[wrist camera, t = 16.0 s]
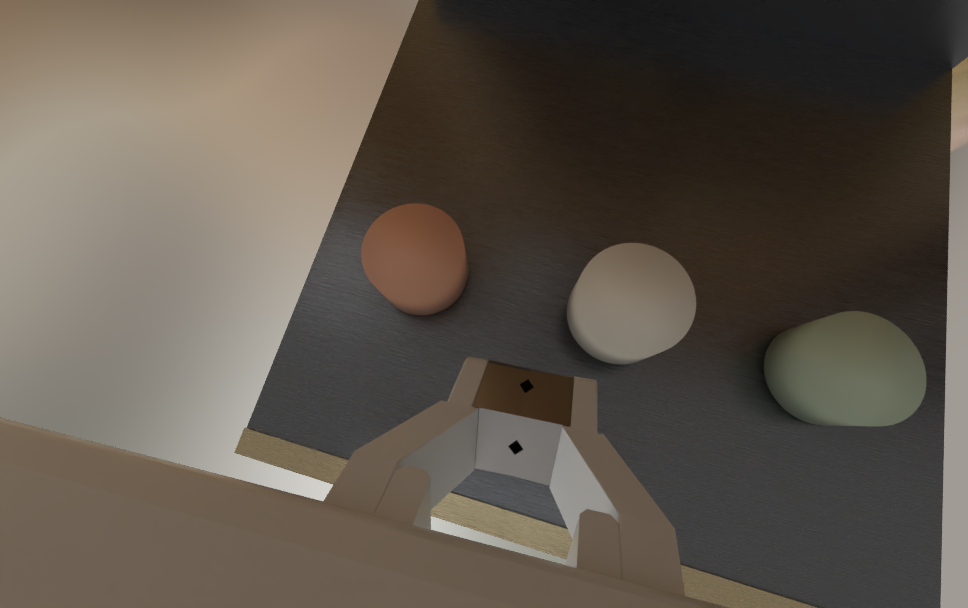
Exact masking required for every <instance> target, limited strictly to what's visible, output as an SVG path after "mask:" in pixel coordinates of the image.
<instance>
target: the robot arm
mask: <svg viewBox="0 0 968 608" xmlns="http://www.w3.org/2000/svg"><path fill="white" fill-rule="evenodd" d="M474 468H476V469H481V470H486V471H491V472H496V473H500V474H505V475H510V476H514V477H518V478H522V479H526V480H530V481H533V482H537V483H541V484H545V485H549V486H550V487H549V488H550V490H551V492H552V495H553V497H554V499H555V501H556V504H557V506H558V508H559V510H560V513H561V515H562V517H563V519H564V521H565V524H566V526H567V528H568V530H569V533H570V535H571V537H572V542H571V546H570V549H569V552H568V556H567V559H566V563H565V565H563V564H559V563H556V562H552V561H548V560H544V559H540V558H537V557H533V556H528V555H525V554H521V553H518V552H514V551H510V550H506V549H502V548H499V547H495V546H491V545H487V544H483V543H479V542H475V541H471V540H468V539H464V538H460V537H456V536H453V535H449V534H445V533H441V532H437V531H434V530H431V509H433V508H434V507H435V506H436V505H437V504H438V503H439V502H440V501H441V500H442V499H443V498H445V497H446V496H447V495H448V494H449V493H450V492H451V491H452V490H453V489H454V488H455V487H457V486H458V485H459V484H460V483H461V482H462V481H463V480H464V479H465V478H466V477H467V476H469V475H470V474H471V473H472V472H473V471H474ZM0 608H728V607H725V606H721V605H717V604H713V603H709V602H706V601H702V600H698V599H694V598H690V597H686V596H685V590H684V584H683V578H682V571H681V565H680V559H679V552H678V546H677V539H676V533H675V528H674V527H673V525H672V524H671V523H670V521H669V520H668V519H667V517H666V516H665V515H664V514H663V512H662V511H661V510H660V508H659V507H658V506H657V504H656V503H655V502H654V500H653V499H652V498H651V496H650V495H649V494H648V492H647V491H646V490H645V488H644V487H643V486H642V484H641V483H640V482H639V480H638V479H637V478H636V476H635V475H634V474H633V472H632V471H631V470H630V468H629V467H628V466H627V464H626V463H625V462H624V460H623V459H622V458H621V457H620V455H619V454H618V453H617V451H616V450H615V449H614V447H613V446H612V445H611V443H610V442H609V441H608V439H607V438H606V437H605V435H603V434H598V433H597V382H596V380H592V379H586V378H580V377H571V376H566V375H560V374H555V373H549V372H544V371H539V370H533V369H529V368H525V367H520V366H515V365H511V364H506V363H501V362H497V361H492V360H486V359H481V358H476V357H472V356H468V357H467V358H466V359H465V362H464V364H463V366H462V369H461V371H460V373H459V376H458V378H457V380H456V382H455V385H454V387H453V389H452V392H451V394H450V396H449V399H448V401H447V402H446V401H439V402H438V403H436V404H434V405H433V406H431V407H429V408H427V409H426V410H424V411H422V412H421V413H419V414H417V415H415V416H414V417H412V418H410V419H409V420H407V421H405V422H403V423H402V424H400V425H398V426H397V427H395V428H393V429H391V430H390V431H388V432H386V433H385V434H383V435H381V436H379V437H378V438H376V439H374V440H373V441H371V442H369V443H367V444H366V445H364V446H362V447H361V448H359V449H357V450H355V451H354V452H353V454H352V456H351V457H350V459H349V460H348V462H347V464H346V465H345V467H344V469H343V470H342V472H341V474H340V475H339V477H338V478H337V480H336V482H335V483H334V485H333V487H332V488H331V490H330V491H329V493H328V495H327V497H326V498H325V500H324V501H319V500H315V499H311V498H307V497H304V496H299V495H296V494H292V493H288V492H284V491H281V490H277V489H273V488H269V487H265V486H261V485H257V484H254V483H250V482H246V481H242V480H238V479H235V478H231V477H227V476H223V475H219V474H216V473H212V472H208V471H204V470H200V469H196V468H193V467H189V466H185V465H181V464H177V463H174V462H170V461H166V460H162V459H158V458H154V457H151V456H146V455H143V454H139V453H135V452H131V451H127V450H123V449H120V448H116V447H112V446H108V445H104V444H100V443H97V442H93V441H89V440H85V439H81V438H77V437H74V436H70V435H66V434H62V433H59V432H55V431H51V430H47V429H43V428H39V427H35V426H32V425H28V424H24V423H20V422H16V421H12V420H9V419H5V418H1V417H0Z"/></svg>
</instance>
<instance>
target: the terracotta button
mask: <svg viewBox="0 0 968 608" xmlns="http://www.w3.org/2000/svg"><path fill="white" fill-rule="evenodd" d="M361 259H362V265H363V269H364V271H365V273H366V275H367V277H368V279H369V280H370V282H371V283H372V284H373V285H374V286H375V287H376V288H377V289H378V290H379V292H380V293H381V294H382V295H383V296H384V297H385V298H386V299H387V300H388V301H389V302H390V303H391V304H392V305H393V306H394V307H396V308H397V309H399V310H401V311H403V312H405V313H408V314H412V315H431V314H435V313H438V312H440V311H443V310H445V309H446V308H448V307H449V306H451V305H452V304H453V303H454V302H455V301H456V300H457V299H458V298H459V297H460V295H461V294H462V292H463V290H464V289H465V286H466V284H467V280H468V273H469V269H468V261H467V256H466V251H465V246H464V241H463V237H462V234H461V231H460V229H459V227H458V226H457V224H456V223H455V221H454V220H453V219H452V218H451V217H450V216H449V215H448V214H446V213H445V212H444V211H442V210H440V209H438V208H436V207H434V206H431V205H427V204H419V203H412V204H404V205H400V206H397V207H394V208H392V209H390V210H388V211H387V212H385V213H383V214H382V215H381V216H379V217H378V218H377V219H376V220H375V221H374V222H373V224H372V225H371V226H370V228H369V229H368V231H367V233H366V235H365V237H364V240H363V244H362V249H361Z"/></svg>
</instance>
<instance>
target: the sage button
mask: <svg viewBox="0 0 968 608" xmlns="http://www.w3.org/2000/svg"><path fill="white" fill-rule="evenodd" d="M764 375H765V379H766V383H767V385H768V388H769V390H770V392H771V394H772V395H773V397H774V398H775V400H776V401H777V402H778V403H779V404H780V405H781V406H782V407H783V408H784V409H785V410H786V411H787V412H788V413H790V414H791V415H793V416H794V417H796V418H798V419H800V420H802V421H805V422H807V423H811V424H815V425H828V426H877V427H878V426H889V425H894V424H897V423H899V422H902V421H903V420H905V419H907V418H908V417H910V416H911V415H912V414H913V413H914V412H915V411H916V410H917V409H918V407H919V406H920V404H921V402H922V400H923V398H924V395H925V391H926V383H927V381H926V371H925V366H924V363H923V360H922V357H921V355H920V353H919V351H918V349H917V348H916V346H915V345H914V343H913V342H912V341H911V339H910V338H909V337H908V336H907V335H906V334H905V333H904V332H903V331H902V330H901V329H900V328H898V327H897V326H896V325H894V324H893V323H891V322H890V321H888V320H886V319H884V318H882V317H880V316H877V315H874V314H871V313H867V312H861V311H846V312H840V313H837V314H834V315H830V316H827V317H824V318H821V319H818V320H814V321H811V322H808V323H805V324H801V325H798V326H795V327H792V328H789V329H787V330H785V331H783V332H781V333H780V334H778V335H777V336H776V337H775V338H774V339H773V340H772V342H771V343H770V345H769V347H768V348H767V351H766V354H765V358H764Z"/></svg>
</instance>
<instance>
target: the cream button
mask: <svg viewBox="0 0 968 608" xmlns="http://www.w3.org/2000/svg"><path fill="white" fill-rule="evenodd" d="M695 312H696V295H695V290H694V287H693V284H692V281H691V279H690V277H689V275H688V274H687V272H686V271H685V269H684V268H683V267H682V265H681V264H680V263H679V262H678V261H677V260H676V259H675V258H673V257H672V256H671V255H669V254H668V253H666V252H664V251H663V250H661V249H659V248H656V247H654V246H650V245H647V244H642V243H623V244H617V245H614V246H611V247H609V248H607V249H605V250H603V251H601V252H600V253H598V254H597V255H596V256H595V257H593V258H592V260H591V261H590V262H589V263H588V264H587V266H586V267H585V269H584V270H583V272H582V274H581V276H580V277H579V279H578V281H577V283H576V284H575V286H574V288H573V290H572V292H571V294H570V296H569V299H568V304H567V321H568V325H569V328H570V331H571V333H572V335H573V337H574V339H575V340H576V342H577V343H578V344H579V345H580V346H581V348H582V349H583V350H585V351H586V352H587V353H588V354H590V355H591V356H593V357H594V358H596V359H598V360H601V361H604V362H606V363H611V364H620V365H622V364H631V363H635V362H638V361H641V360H644V359H646V358H648V357H651V356H653V355H656V354H658V353H661V352H663V351H665V350H667V349H669V348H671V347H673V346H674V345H675V344H677V343H678V342H679V341H680V340H681V339H682V338H683V337H684V336H685V335H686V333H687V332H688V330H689V329H690V327H691V325H692V323H693V320H694V316H695Z"/></svg>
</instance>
